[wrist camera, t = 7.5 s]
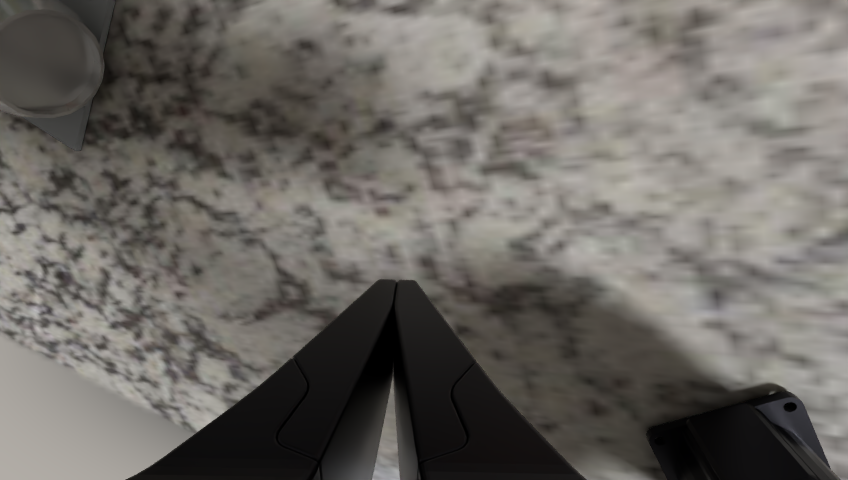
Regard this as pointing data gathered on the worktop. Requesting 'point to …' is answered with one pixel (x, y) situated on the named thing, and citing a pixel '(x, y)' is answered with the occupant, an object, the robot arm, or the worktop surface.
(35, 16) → the beer can
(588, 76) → the worktop surface
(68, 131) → the mat
